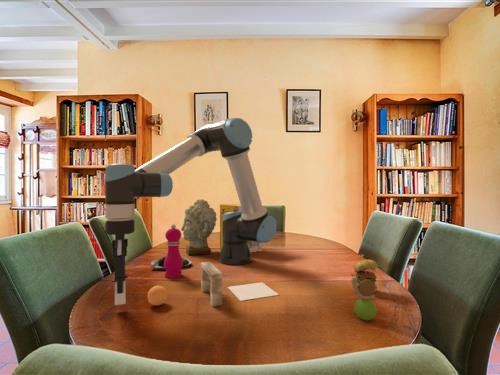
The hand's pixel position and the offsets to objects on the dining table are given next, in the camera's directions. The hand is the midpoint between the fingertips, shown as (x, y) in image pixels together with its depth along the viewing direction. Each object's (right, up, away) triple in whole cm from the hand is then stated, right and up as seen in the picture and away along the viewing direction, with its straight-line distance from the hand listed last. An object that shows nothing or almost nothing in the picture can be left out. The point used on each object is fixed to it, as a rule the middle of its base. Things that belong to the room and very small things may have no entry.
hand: (120, 303), depth 82 cm
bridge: (+24, -2, +10) cm, 26 cm away
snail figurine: (+66, -2, -6) cm, 66 cm away
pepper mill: (+7, -2, +32) cm, 33 cm away
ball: (+9, +1, +4) cm, 10 cm away
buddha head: (+9, -2, +73) cm, 73 cm away
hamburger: (+75, -2, +15) cm, 76 cm away
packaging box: (+31, -2, +77) cm, 83 cm away
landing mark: (+37, -2, +15) cm, 40 cm away
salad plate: (+1, -3, +47) cm, 47 cm away
